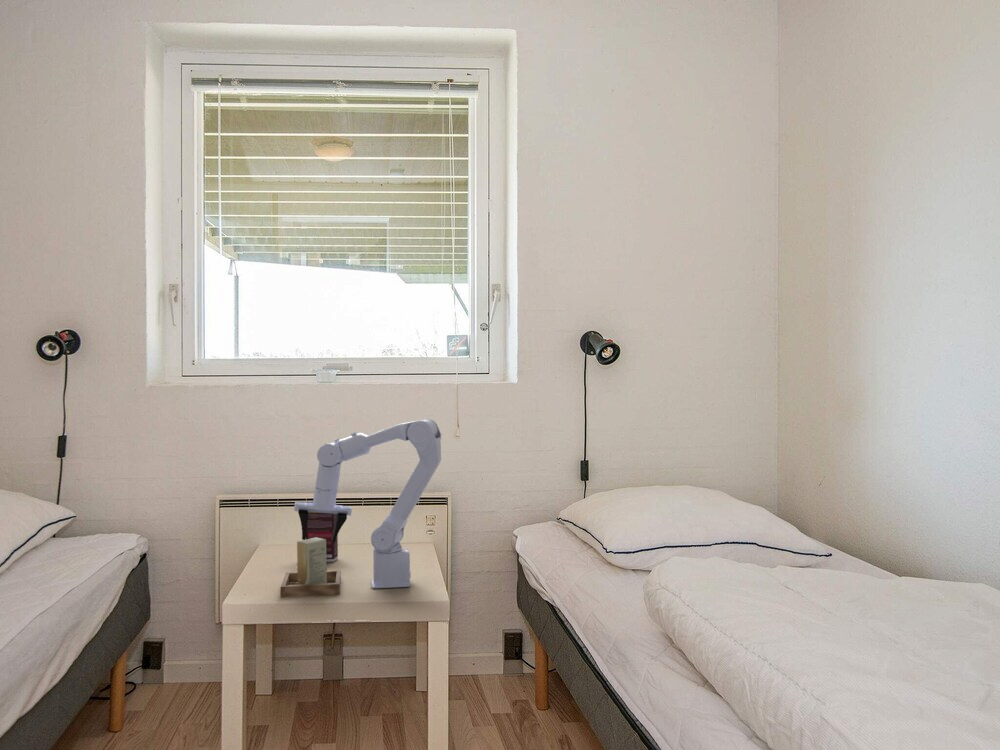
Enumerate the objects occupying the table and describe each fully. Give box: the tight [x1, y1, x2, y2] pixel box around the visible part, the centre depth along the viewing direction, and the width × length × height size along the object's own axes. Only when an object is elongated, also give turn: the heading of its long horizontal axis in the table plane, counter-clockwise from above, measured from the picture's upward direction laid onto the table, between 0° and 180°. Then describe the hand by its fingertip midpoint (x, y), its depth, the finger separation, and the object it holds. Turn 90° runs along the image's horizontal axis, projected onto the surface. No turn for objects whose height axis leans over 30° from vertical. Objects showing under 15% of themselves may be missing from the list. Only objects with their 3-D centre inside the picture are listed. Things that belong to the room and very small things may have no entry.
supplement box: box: [305, 512, 339, 563], centre depth 224 cm, size 9×5×16 cm, turn 88°
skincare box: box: [296, 537, 328, 585], centre depth 194 cm, size 6×4×12 cm
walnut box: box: [280, 569, 342, 598], centre depth 194 cm, size 14×14×2 cm
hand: (318, 540), depth 200 cm, fingers open, 7 cm apart
